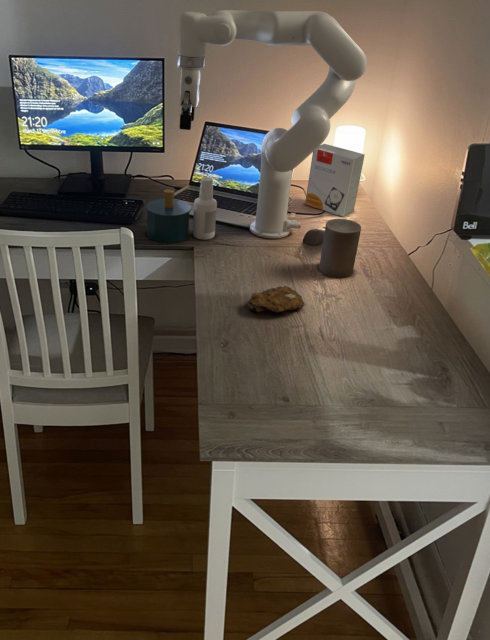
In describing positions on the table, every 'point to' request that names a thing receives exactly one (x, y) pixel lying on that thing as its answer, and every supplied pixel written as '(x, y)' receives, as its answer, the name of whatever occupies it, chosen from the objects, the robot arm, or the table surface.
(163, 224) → the tin
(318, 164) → the hard drive box
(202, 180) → the spray bottle
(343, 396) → the table surface
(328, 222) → the pillar candle
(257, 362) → the table surface
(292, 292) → the decorative rock
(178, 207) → the tin lid
